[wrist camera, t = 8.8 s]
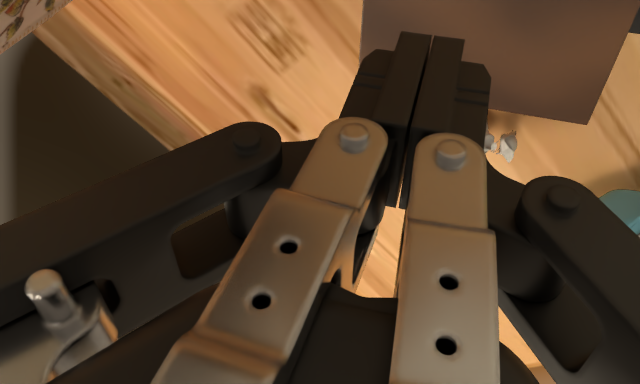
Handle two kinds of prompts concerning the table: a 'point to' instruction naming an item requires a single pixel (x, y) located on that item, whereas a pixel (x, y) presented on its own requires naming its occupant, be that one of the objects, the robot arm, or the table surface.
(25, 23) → the decorative jar
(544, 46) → the box
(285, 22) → the table surface
